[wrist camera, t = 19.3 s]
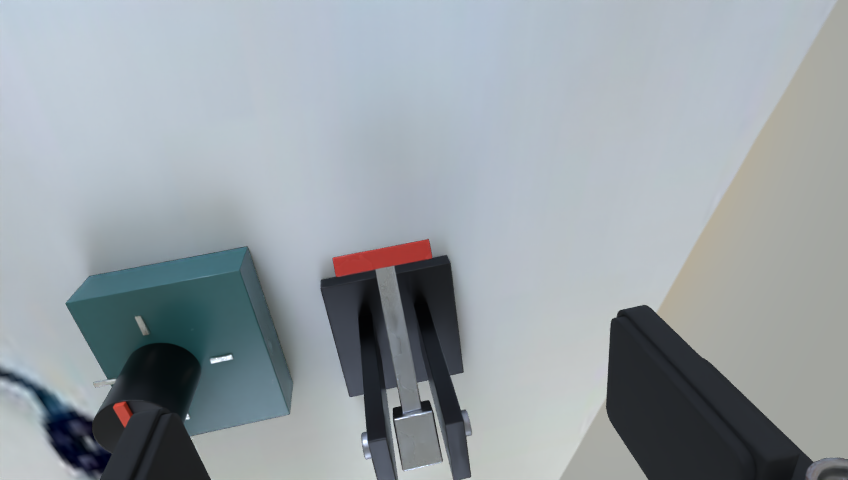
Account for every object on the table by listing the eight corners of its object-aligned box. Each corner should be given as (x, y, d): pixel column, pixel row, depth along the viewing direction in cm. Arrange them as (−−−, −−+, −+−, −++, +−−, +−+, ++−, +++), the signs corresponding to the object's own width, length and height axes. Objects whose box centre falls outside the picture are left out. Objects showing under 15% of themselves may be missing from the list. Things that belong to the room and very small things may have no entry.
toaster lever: (335, 258, 29) (330, 257, 27) (426, 241, 30) (429, 238, 27) (373, 462, 28) (372, 479, 26) (465, 441, 29) (473, 455, 26)
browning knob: (210, 388, 33) (190, 453, 28) (142, 402, 32) (110, 471, 27) (187, 335, 31) (160, 396, 26) (114, 350, 30) (73, 415, 25)
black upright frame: (320, 279, 34) (314, 410, 23) (447, 254, 35) (498, 370, 24) (349, 386, 39) (355, 539, 28) (460, 362, 39) (509, 501, 28)
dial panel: (148, 414, 37) (131, 451, 34) (75, 278, 31) (48, 307, 28) (293, 383, 38) (289, 416, 35) (247, 245, 32) (238, 271, 29)
